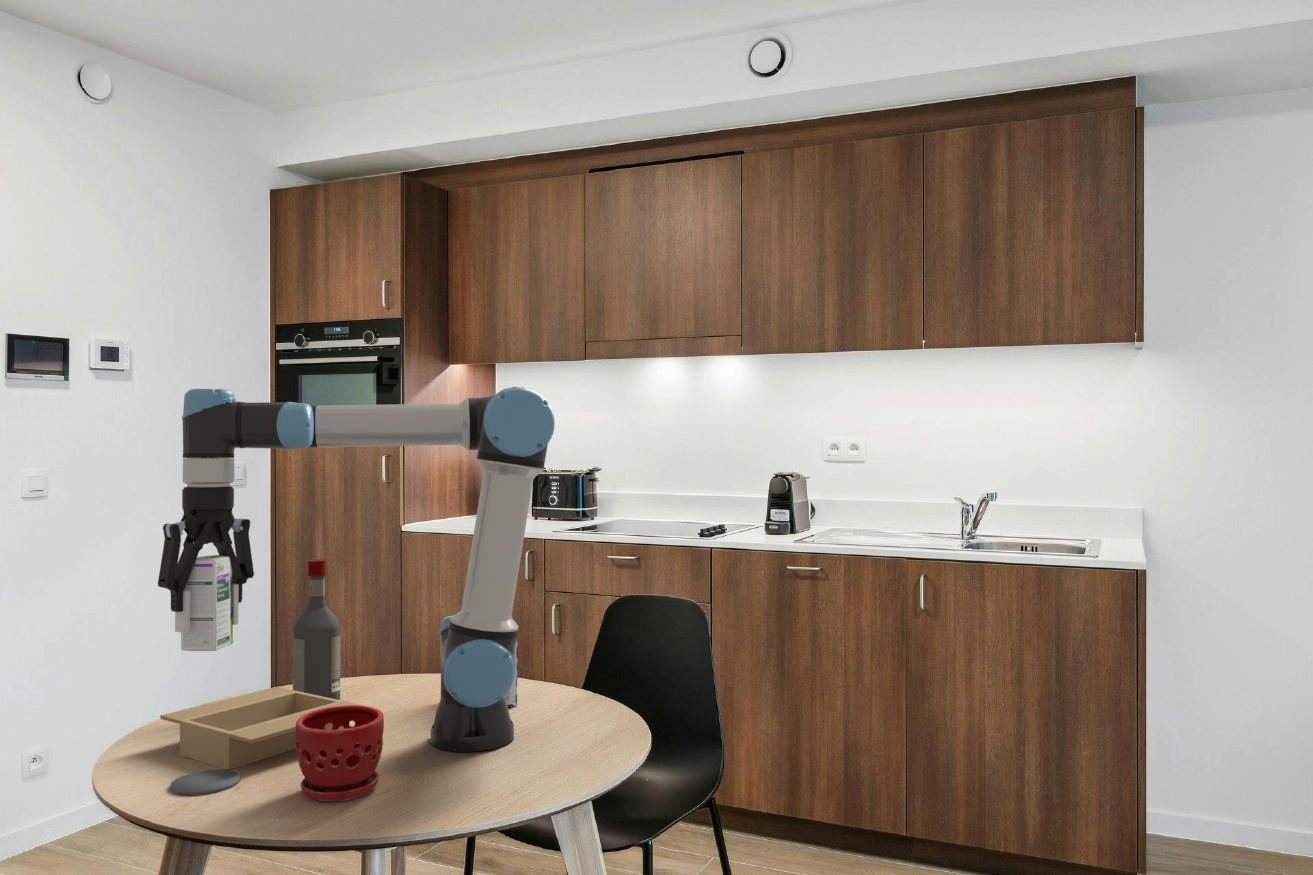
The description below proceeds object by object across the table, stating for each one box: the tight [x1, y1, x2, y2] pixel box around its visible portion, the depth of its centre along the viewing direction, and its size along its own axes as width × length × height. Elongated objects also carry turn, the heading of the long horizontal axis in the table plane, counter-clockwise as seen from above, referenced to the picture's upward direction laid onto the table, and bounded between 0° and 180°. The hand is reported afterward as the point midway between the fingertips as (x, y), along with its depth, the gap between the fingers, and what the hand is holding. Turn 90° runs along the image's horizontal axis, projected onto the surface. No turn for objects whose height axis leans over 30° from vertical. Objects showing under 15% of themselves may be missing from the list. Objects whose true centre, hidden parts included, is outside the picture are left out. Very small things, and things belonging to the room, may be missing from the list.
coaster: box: [170, 769, 241, 796], centre depth 151 cm, size 10×10×1 cm
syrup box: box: [180, 554, 234, 652], centre depth 152 cm, size 6×6×14 cm
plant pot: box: [296, 704, 385, 803], centre depth 148 cm, size 13×13×12 cm
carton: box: [159, 686, 366, 770], centre depth 172 cm, size 26×24×6 cm
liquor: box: [292, 558, 342, 700], centre depth 199 cm, size 9×9×30 cm
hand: (207, 627), depth 152 cm, fingers closed on syrup box, 8 cm apart
